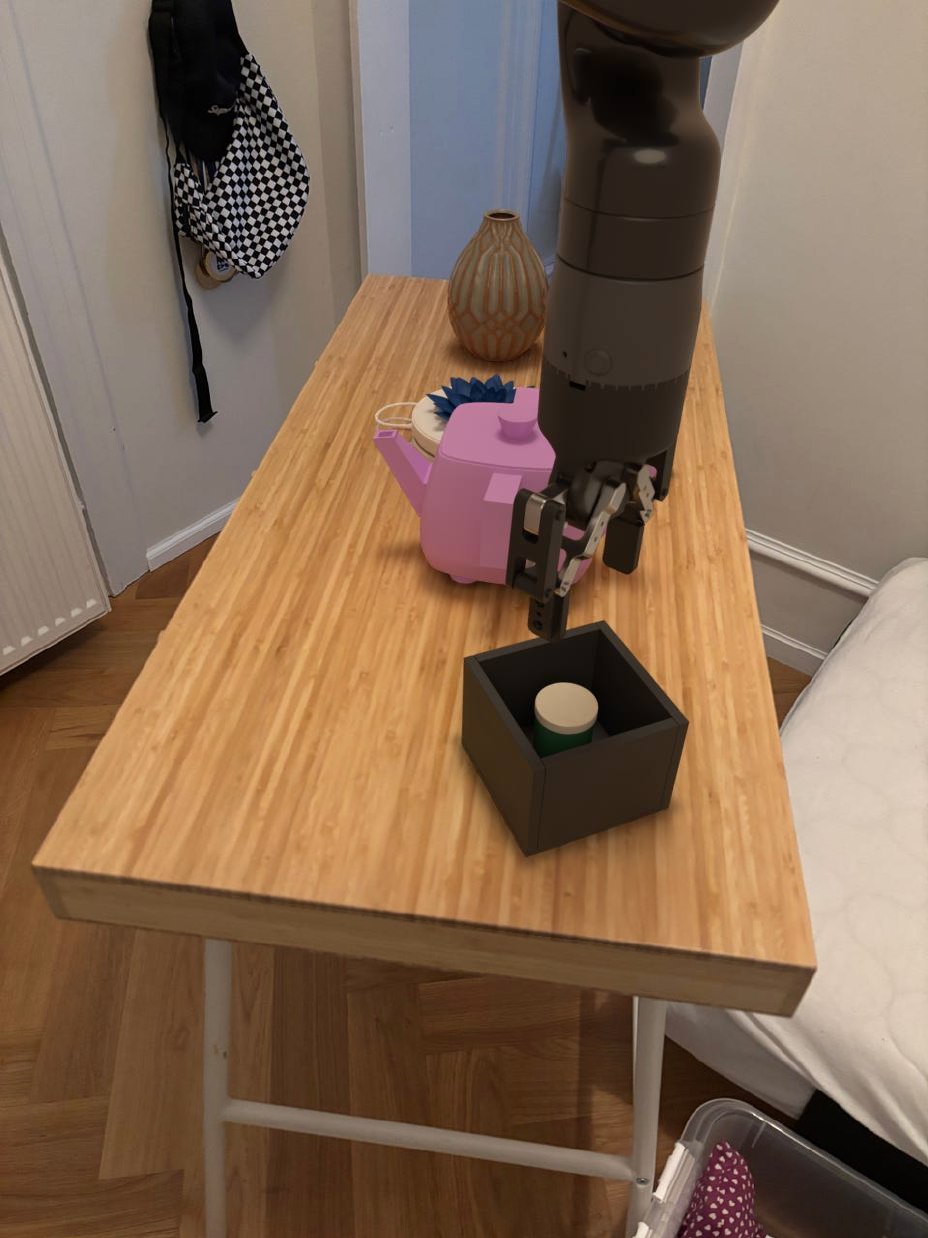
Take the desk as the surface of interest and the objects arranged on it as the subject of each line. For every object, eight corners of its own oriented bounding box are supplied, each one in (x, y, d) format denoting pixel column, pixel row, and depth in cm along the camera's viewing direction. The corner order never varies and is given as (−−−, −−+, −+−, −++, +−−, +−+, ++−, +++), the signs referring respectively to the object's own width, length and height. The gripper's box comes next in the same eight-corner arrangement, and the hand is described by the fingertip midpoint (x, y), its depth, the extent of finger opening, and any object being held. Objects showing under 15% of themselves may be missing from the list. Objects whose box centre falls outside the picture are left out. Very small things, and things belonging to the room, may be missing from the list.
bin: (525, 858, 62) (534, 771, 56) (461, 743, 70) (463, 657, 64) (668, 808, 65) (689, 721, 60) (591, 704, 73) (604, 619, 68)
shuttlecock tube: (544, 803, 65) (552, 733, 60) (519, 761, 68) (524, 691, 63) (598, 786, 66) (609, 716, 62) (570, 745, 69) (580, 675, 65)
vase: (563, 348, 126) (576, 211, 115) (509, 381, 117) (517, 238, 106) (483, 324, 131) (487, 192, 120) (426, 355, 123) (425, 216, 112)
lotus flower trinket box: (566, 369, 104) (394, 349, 108) (545, 434, 93) (352, 410, 96) (561, 424, 109) (395, 404, 112) (540, 493, 97) (356, 469, 100)
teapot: (372, 542, 90) (364, 397, 80) (516, 483, 99) (524, 346, 89) (501, 648, 78) (510, 493, 69) (650, 570, 87) (677, 423, 77)
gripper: (622, 290, 53) (591, 528, 64) (473, 372, 44) (465, 634, 55) (745, 324, 50) (691, 570, 60) (610, 420, 41) (574, 689, 51)
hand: (583, 600), depth 57 cm, fingers open, 8 cm apart
